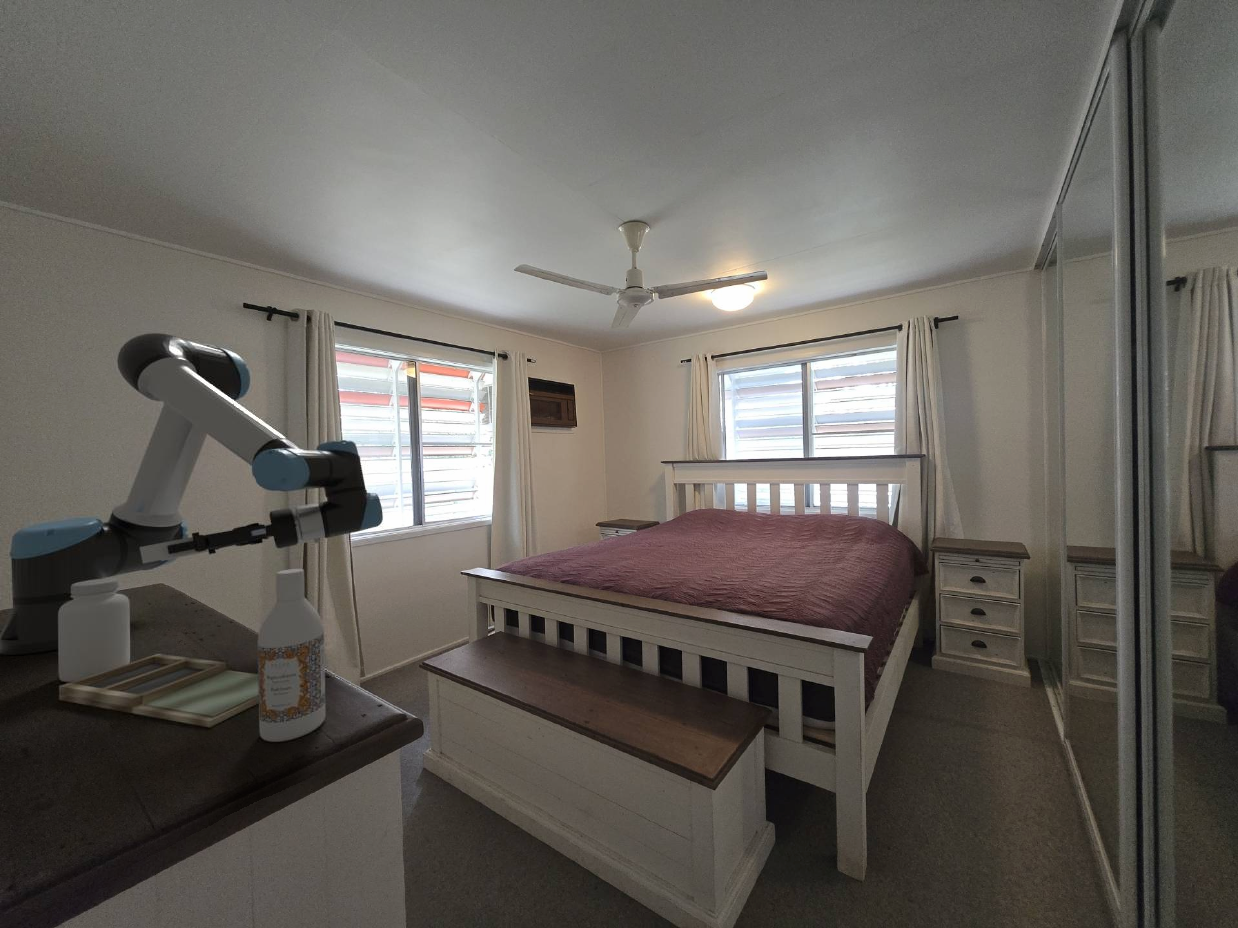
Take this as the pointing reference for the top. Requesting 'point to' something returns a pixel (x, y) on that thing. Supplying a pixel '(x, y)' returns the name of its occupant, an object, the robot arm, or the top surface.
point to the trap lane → (168, 689)
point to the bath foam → (291, 663)
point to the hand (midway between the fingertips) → (151, 554)
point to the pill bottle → (93, 630)
